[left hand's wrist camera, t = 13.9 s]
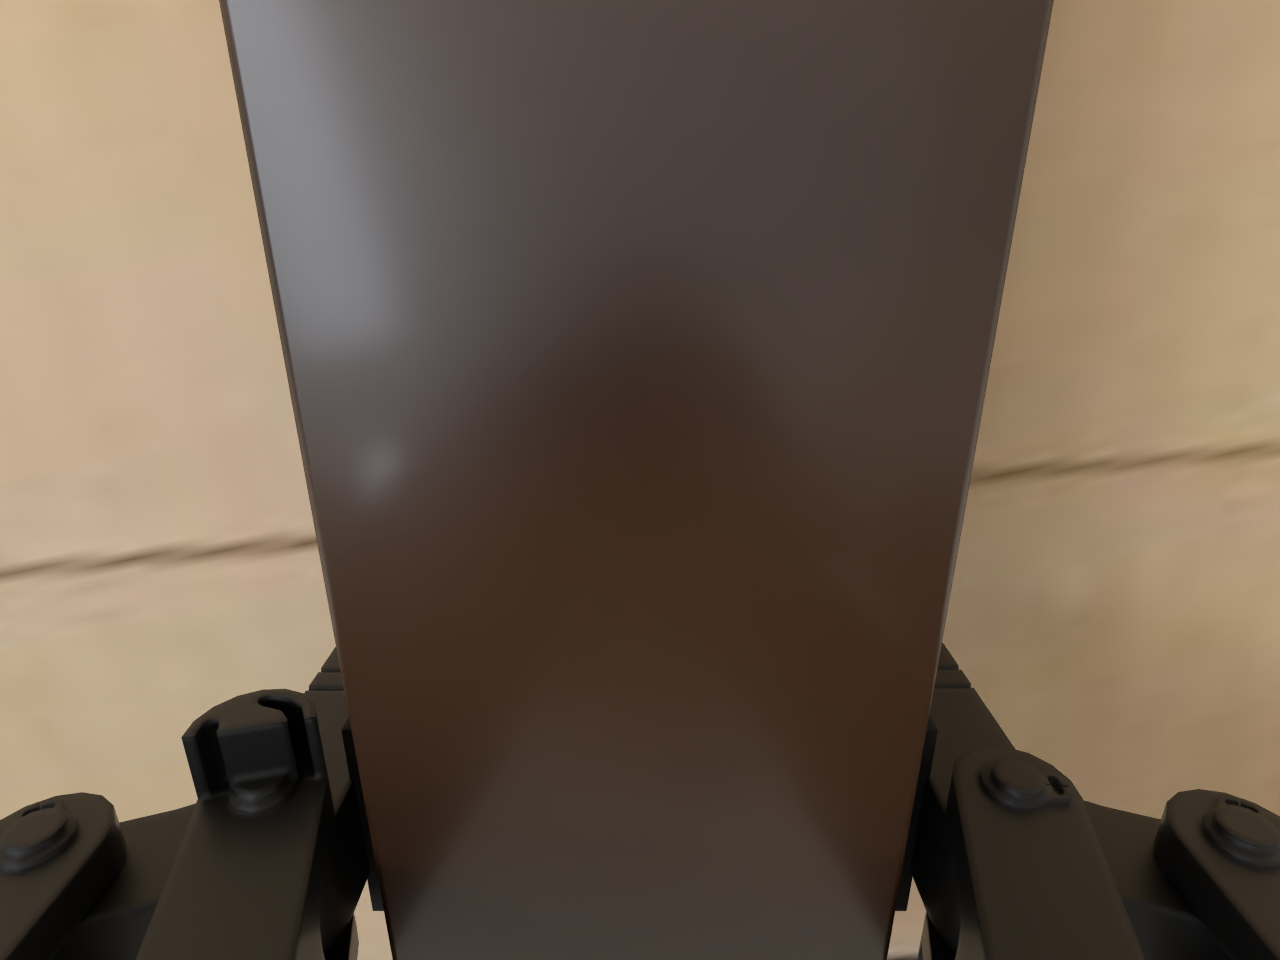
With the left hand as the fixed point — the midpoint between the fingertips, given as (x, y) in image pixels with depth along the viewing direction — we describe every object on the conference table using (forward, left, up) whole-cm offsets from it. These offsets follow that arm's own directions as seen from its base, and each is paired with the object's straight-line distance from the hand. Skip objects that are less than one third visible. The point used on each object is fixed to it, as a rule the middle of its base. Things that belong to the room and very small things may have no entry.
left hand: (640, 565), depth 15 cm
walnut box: (+10, +6, 0) cm, 11 cm away
